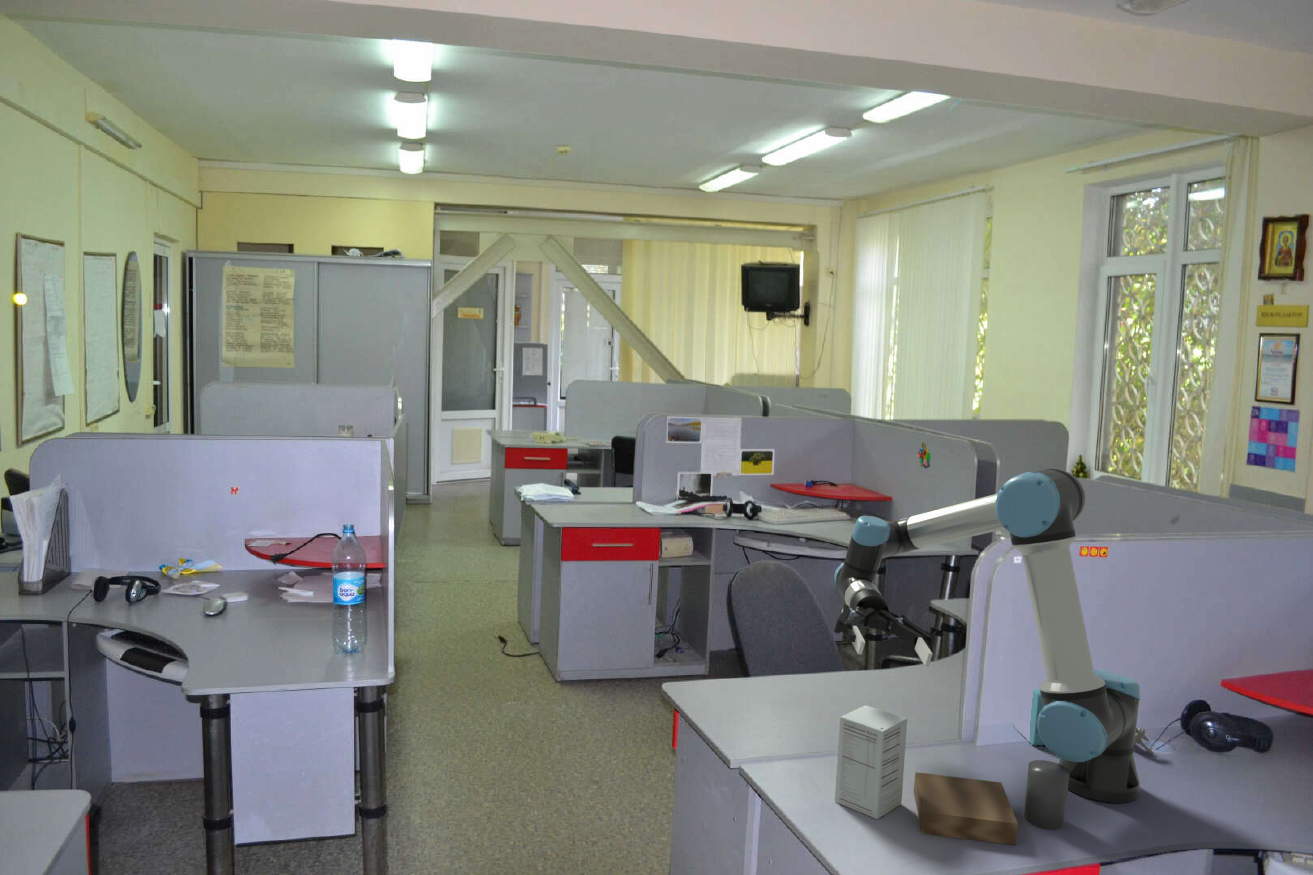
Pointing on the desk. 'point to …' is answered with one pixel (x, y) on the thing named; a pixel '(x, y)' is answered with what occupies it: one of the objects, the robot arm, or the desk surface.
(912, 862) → the desk surface
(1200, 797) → the desk surface
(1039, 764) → the dark grey cylinder
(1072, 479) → the robot arm
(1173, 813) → the desk surface
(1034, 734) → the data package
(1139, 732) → the pale grey branched piece
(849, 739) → the supplement box
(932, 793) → the podium
